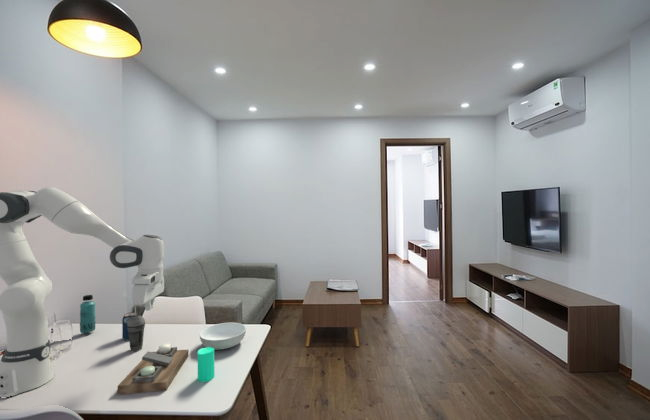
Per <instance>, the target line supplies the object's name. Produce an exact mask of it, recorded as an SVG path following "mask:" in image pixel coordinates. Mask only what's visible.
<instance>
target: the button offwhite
mask: <svg viewBox="0 0 650 420" xmlns="http://www.w3.org/2000/svg"><path fill="white" fill-rule="evenodd" d="M171 347H172V344H171V343H168V342H167V343H162V344H161V345H159V346H158V349H159V353H160V354H166V353H169V352H170V351H171Z"/></svg>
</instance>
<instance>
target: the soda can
mask: <svg viewBox="0 0 650 420" xmlns="http://www.w3.org/2000/svg"><path fill="white" fill-rule="evenodd" d="M136 315H139V314H138V312H137V311H136ZM133 316H135V311H132V312H131V311H130V312H128V313H125V314H124V315H123V317H122V322H121V323H122V327H121V329H122V330H121V331H122V334H121V335H122V338H123V340H124V341H129V333H128V329H127V324H128V321H129V319H130V318H131V317H133Z"/></svg>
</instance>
